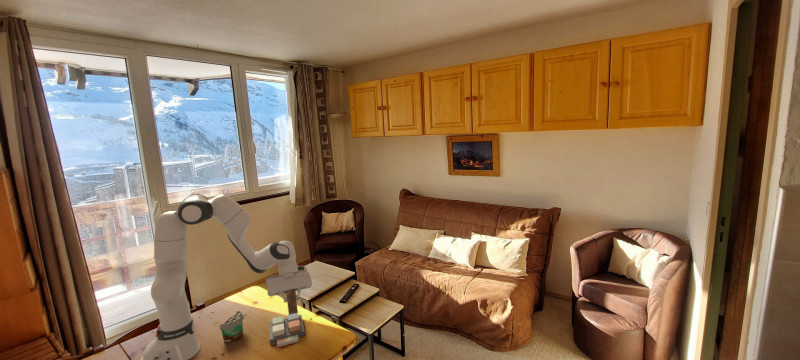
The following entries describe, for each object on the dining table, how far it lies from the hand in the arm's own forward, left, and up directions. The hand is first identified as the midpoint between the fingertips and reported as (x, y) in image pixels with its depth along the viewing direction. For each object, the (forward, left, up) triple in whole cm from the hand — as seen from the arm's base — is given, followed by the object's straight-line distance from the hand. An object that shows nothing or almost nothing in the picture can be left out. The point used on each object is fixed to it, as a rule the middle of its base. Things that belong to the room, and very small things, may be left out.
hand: (291, 300), depth 151 cm
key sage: (-7, +8, -14) cm, 18 cm away
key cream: (-7, +1, -14) cm, 16 cm away
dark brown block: (0, +1, -6) cm, 6 cm away
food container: (-26, +10, -17) cm, 32 cm away
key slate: (0, +8, -14) cm, 16 cm away
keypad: (-4, +3, -17) cm, 17 cm away
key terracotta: (0, +1, -14) cm, 14 cm away
